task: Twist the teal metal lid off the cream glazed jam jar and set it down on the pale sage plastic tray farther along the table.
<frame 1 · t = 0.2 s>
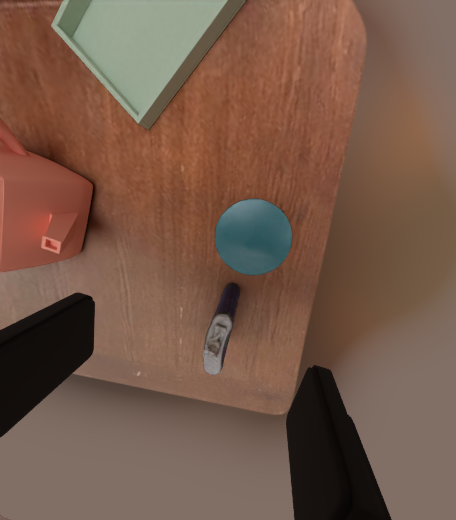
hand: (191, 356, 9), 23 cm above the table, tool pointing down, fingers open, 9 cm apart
tray: (155, 14, 24), on the table
teapot: (65, 208, 34), on the table
lid: (252, 238, 19), point 11 cm above the table, screwed on, not yet turned
flask: (228, 307, 34), on the table
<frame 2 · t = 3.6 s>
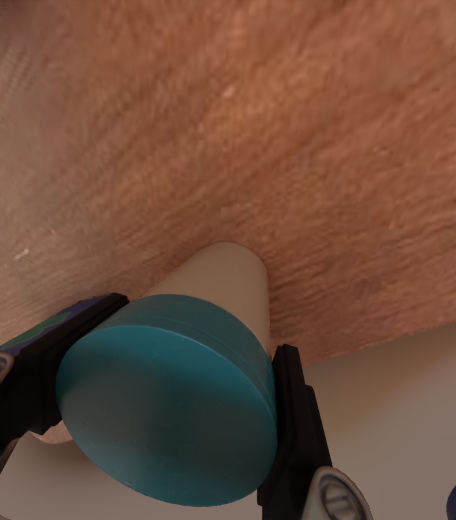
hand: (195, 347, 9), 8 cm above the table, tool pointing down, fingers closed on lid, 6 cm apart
jar: (226, 283, 17), on the table
lid: (164, 415, 6), point 11 cm above the table, screwed on, not yet turned, touching gripper
flask: (89, 313, 20), on the table
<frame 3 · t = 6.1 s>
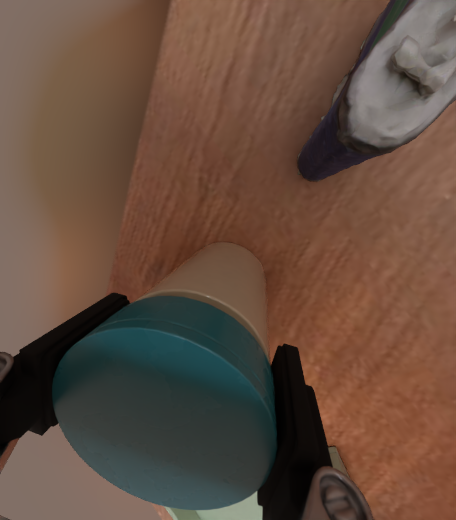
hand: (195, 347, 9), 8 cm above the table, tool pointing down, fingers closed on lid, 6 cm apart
tray: (268, 504, 24), on the table
jar: (224, 282, 17), on the table, touching gripper
lid: (162, 418, 6), point 11 cm above the table, turned 139° so far, risen 0.4 cm, still on its thread, touching gripper
flask: (349, 109, 13), on the table
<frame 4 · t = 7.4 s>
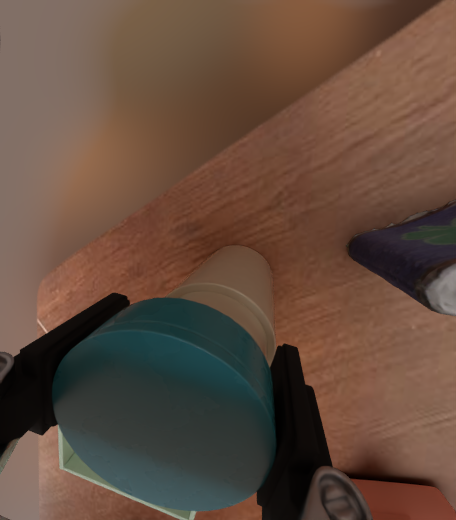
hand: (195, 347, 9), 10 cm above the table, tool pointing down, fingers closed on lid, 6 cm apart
tray: (139, 438, 28), on the table
jar: (236, 280, 19), on the table
teapot: (370, 501, 24), on the table
lid: (162, 419, 6), point 14 cm above the table, off its thread, touching gripper
flask: (410, 232, 16), on the table
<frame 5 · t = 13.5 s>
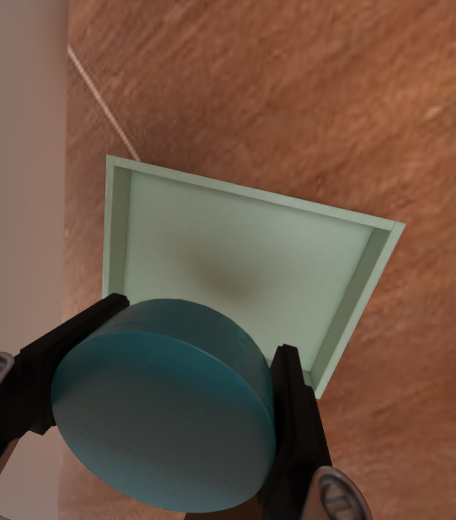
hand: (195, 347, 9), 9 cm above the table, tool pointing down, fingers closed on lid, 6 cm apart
coffee cup: (237, 461, 24), on the table
tray: (227, 275, 18), on the table
lid: (161, 420, 6), point 12 cm above the table, off its thread, touching gripper
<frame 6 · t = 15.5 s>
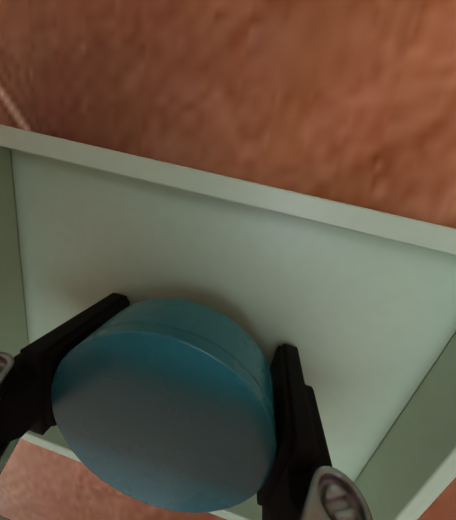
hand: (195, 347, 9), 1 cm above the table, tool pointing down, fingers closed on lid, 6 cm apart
tray: (199, 336, 10), on the table
lid: (162, 420, 6), point 4 cm above the table, off its thread, touching gripper
when the fingers open (1 cm above the table, at t = 23.6 s): lid drops 3 cm, resting on tray.
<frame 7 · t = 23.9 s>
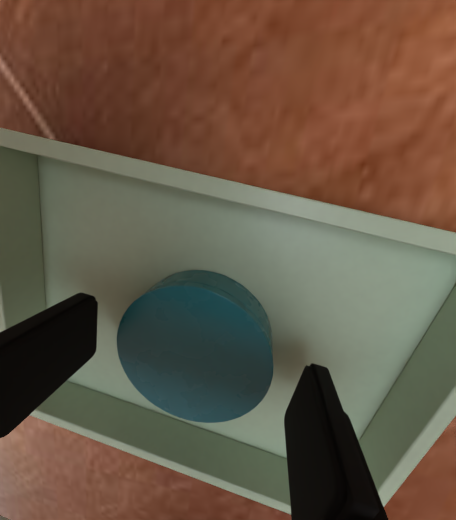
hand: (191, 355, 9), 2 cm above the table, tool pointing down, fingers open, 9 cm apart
tray: (205, 325, 11), on the table
lid: (193, 354, 9), point 2 cm above the table, off its thread, touching tray
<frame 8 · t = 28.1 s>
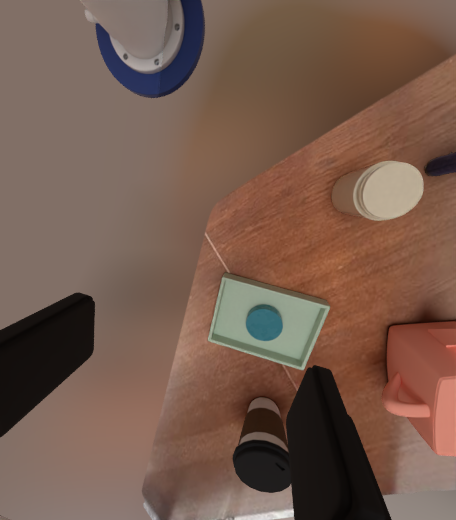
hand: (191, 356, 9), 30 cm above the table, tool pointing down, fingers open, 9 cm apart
coffee cup: (263, 406, 48), on the table
tray: (264, 318, 42), on the table
jar: (354, 193, 33), on the table
teapot: (424, 343, 38), on the table
lid: (264, 324, 40), point 2 cm above the table, off its thread, touching tray
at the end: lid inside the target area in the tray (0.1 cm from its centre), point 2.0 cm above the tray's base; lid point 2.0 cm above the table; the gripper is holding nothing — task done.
